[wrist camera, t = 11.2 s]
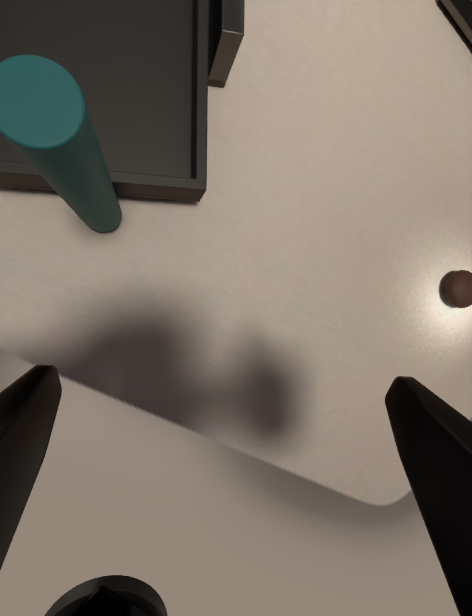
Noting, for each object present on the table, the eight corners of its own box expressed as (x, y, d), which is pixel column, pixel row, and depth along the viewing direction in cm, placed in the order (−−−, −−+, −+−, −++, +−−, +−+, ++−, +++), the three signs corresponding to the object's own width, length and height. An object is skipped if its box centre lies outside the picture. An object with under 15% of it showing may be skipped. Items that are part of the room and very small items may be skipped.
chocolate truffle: (455, 262, 29) (473, 261, 27) (474, 290, 29) (492, 290, 28) (432, 287, 28) (448, 287, 27) (451, 315, 29) (468, 316, 27)
